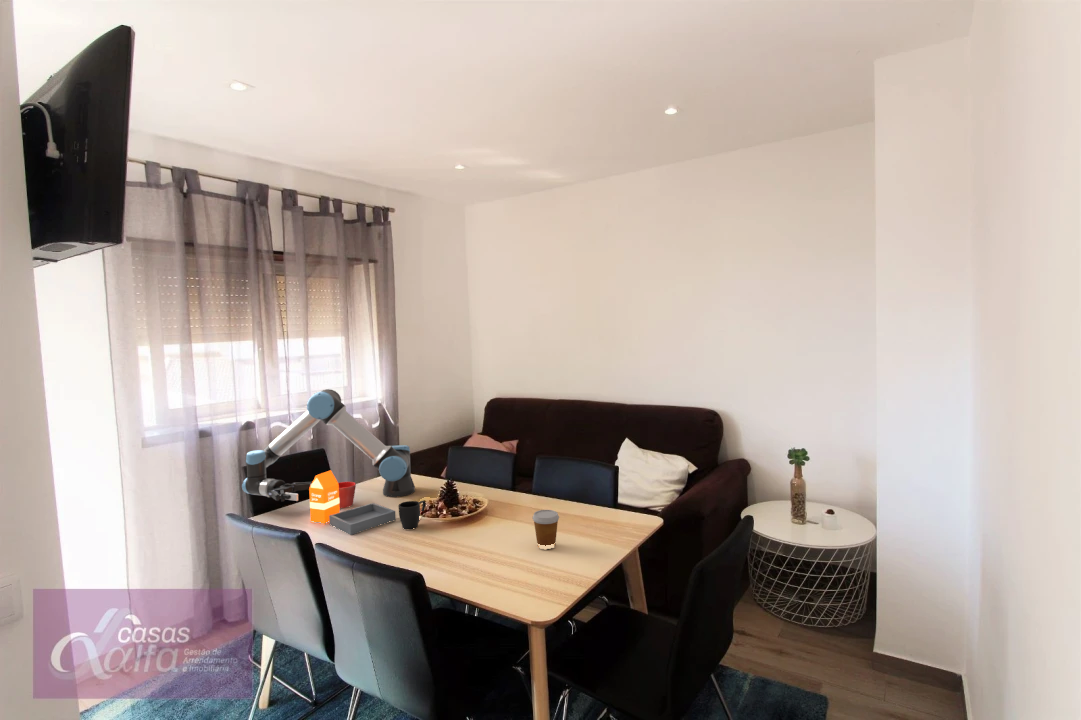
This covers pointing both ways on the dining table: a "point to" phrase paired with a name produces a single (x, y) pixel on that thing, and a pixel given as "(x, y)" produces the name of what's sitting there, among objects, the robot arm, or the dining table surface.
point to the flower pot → (346, 494)
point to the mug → (410, 513)
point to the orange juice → (324, 497)
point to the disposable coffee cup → (545, 526)
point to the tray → (361, 518)
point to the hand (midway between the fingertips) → (310, 492)
